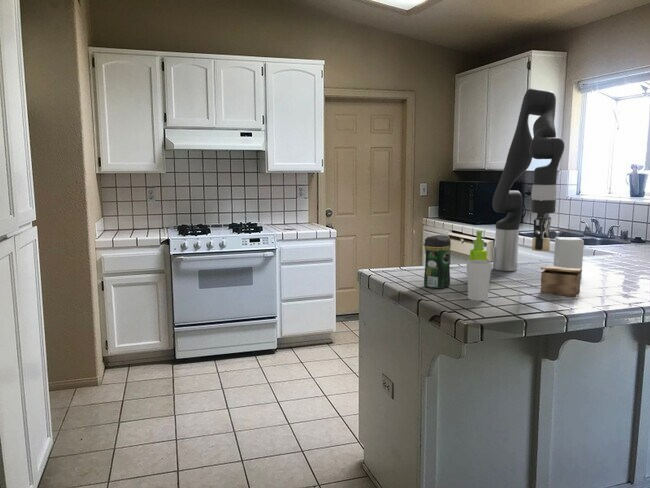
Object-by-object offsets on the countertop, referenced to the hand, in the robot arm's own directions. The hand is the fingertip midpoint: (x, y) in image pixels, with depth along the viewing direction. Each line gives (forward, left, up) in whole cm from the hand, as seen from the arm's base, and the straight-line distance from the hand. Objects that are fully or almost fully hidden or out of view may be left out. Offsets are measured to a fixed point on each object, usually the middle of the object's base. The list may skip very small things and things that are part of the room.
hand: (540, 248), depth 181 cm
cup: (-15, -20, -15) cm, 29 cm away
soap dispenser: (-21, -1, -15) cm, 26 cm away
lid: (+6, +4, -8) cm, 11 cm away
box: (+6, +4, -15) cm, 17 cm away
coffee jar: (-33, -10, -15) cm, 38 cm away
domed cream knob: (0, 0, -1) cm, 1 cm away
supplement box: (+3, +38, -15) cm, 41 cm away
